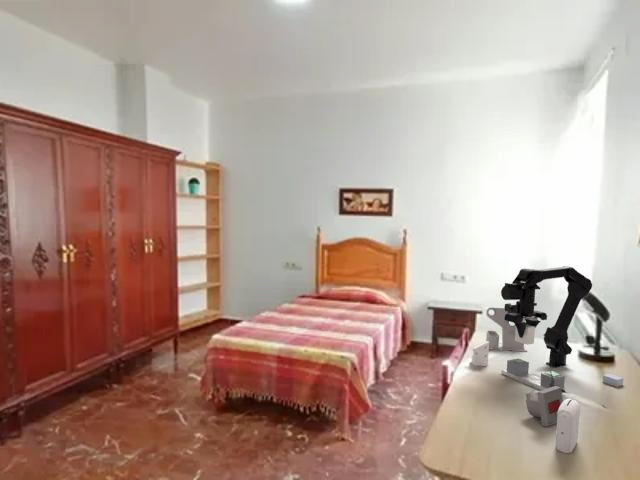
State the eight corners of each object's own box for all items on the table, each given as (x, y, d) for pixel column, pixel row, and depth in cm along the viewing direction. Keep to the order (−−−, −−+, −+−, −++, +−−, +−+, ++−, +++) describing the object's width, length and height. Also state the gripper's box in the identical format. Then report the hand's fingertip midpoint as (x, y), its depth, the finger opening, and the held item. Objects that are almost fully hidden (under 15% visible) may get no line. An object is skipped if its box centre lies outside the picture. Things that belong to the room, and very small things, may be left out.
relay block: (616, 390, 163) (622, 388, 165) (617, 379, 163) (623, 378, 165) (602, 385, 167) (608, 384, 169) (603, 375, 167) (608, 373, 169)
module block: (521, 339, 188) (522, 322, 187) (533, 343, 182) (535, 326, 182) (514, 340, 186) (515, 323, 185) (527, 344, 180) (528, 327, 180)
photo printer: (571, 455, 117) (574, 409, 116) (553, 449, 120) (556, 404, 119) (579, 441, 125) (582, 397, 124) (562, 435, 128) (564, 393, 127)
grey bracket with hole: (488, 349, 209) (490, 311, 208) (484, 342, 219) (486, 306, 218) (527, 352, 206) (530, 313, 205) (522, 345, 216) (524, 309, 215)
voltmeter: (568, 432, 130) (570, 399, 129) (525, 424, 134) (527, 392, 134) (558, 398, 154) (560, 370, 154) (522, 392, 159) (523, 365, 158)
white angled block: (499, 360, 185) (489, 342, 185) (476, 371, 186) (467, 352, 186) (496, 357, 189) (486, 339, 188) (474, 368, 190) (465, 350, 190)
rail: (514, 371, 180) (514, 355, 179) (564, 391, 160) (565, 374, 160) (501, 373, 177) (502, 358, 176) (551, 394, 157) (552, 377, 156)
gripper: (526, 294, 194) (523, 330, 195) (494, 297, 186) (492, 334, 187) (549, 299, 184) (546, 337, 185) (517, 302, 176) (514, 341, 177)
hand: (524, 337), depth 184 cm, fingers closed on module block, 4 cm apart
